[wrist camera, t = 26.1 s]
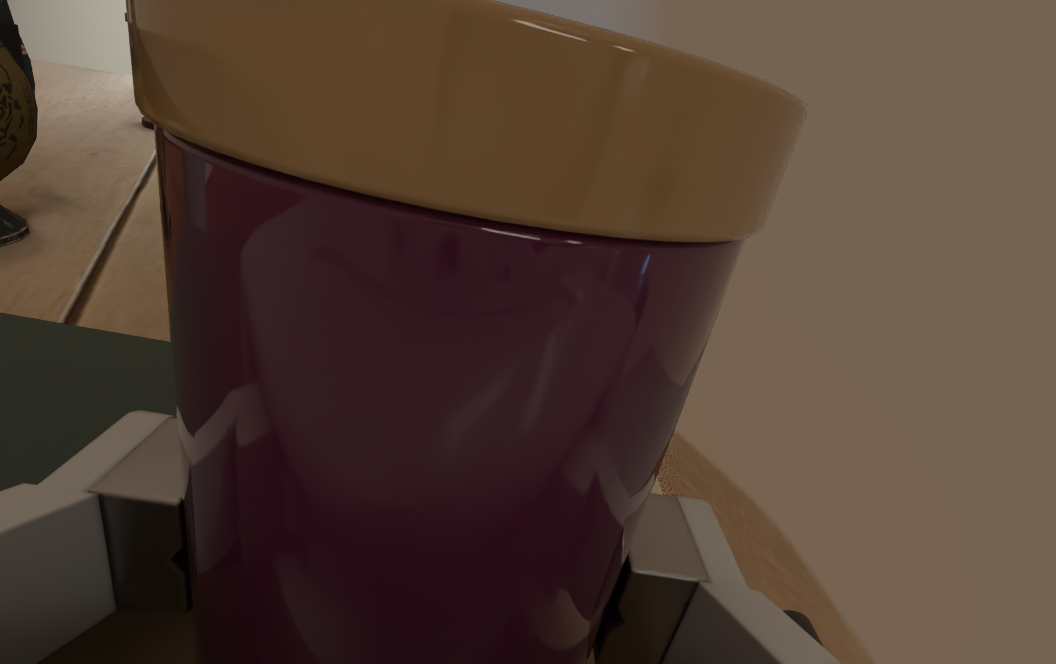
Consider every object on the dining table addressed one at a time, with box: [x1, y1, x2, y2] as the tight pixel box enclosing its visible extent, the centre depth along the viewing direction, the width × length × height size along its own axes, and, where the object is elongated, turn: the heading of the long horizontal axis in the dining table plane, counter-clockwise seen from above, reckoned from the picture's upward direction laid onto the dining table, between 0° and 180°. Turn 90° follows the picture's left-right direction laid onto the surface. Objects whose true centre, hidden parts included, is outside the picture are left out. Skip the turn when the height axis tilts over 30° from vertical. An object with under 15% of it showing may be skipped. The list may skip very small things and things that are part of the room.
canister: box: [126, 0, 807, 664], centre depth 7 cm, size 5×5×13 cm
